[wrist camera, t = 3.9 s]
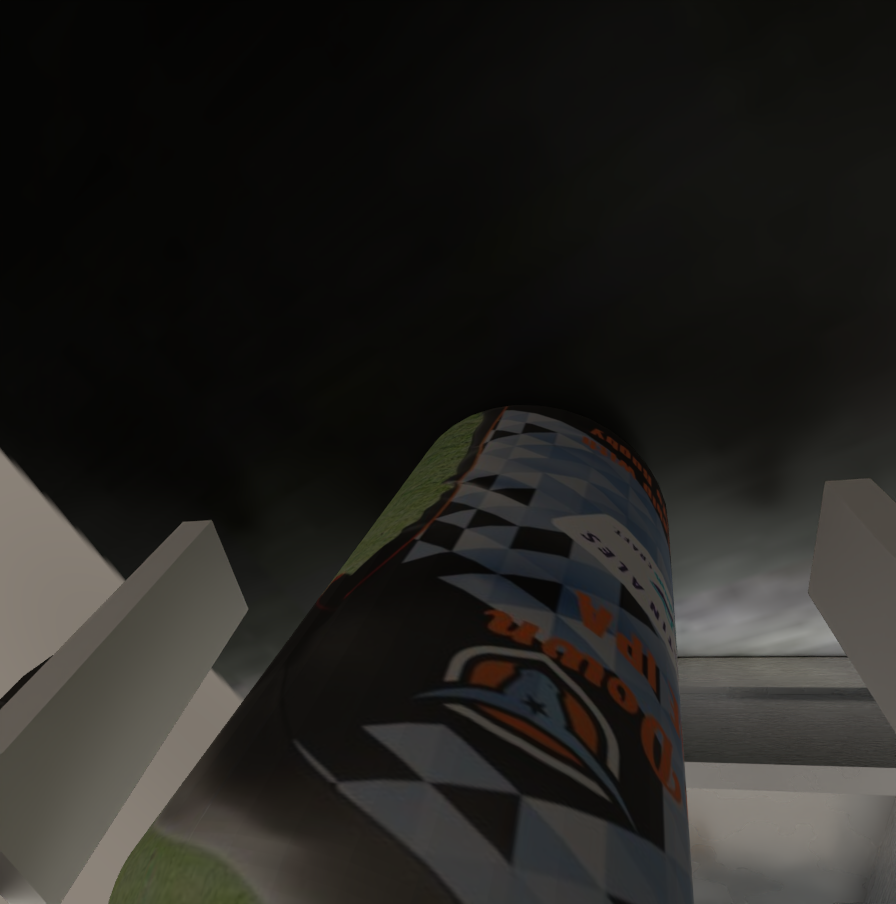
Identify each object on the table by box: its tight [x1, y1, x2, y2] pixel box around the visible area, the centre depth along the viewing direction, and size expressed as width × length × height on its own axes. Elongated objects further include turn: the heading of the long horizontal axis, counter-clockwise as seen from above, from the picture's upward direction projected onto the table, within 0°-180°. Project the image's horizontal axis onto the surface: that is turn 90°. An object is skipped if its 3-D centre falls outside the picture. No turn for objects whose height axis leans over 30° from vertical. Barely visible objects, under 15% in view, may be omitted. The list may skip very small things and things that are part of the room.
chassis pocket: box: [677, 657, 896, 904], centre depth 17 cm, size 12×14×4 cm
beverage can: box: [109, 405, 694, 904], centre depth 9 cm, size 6×7×12 cm
